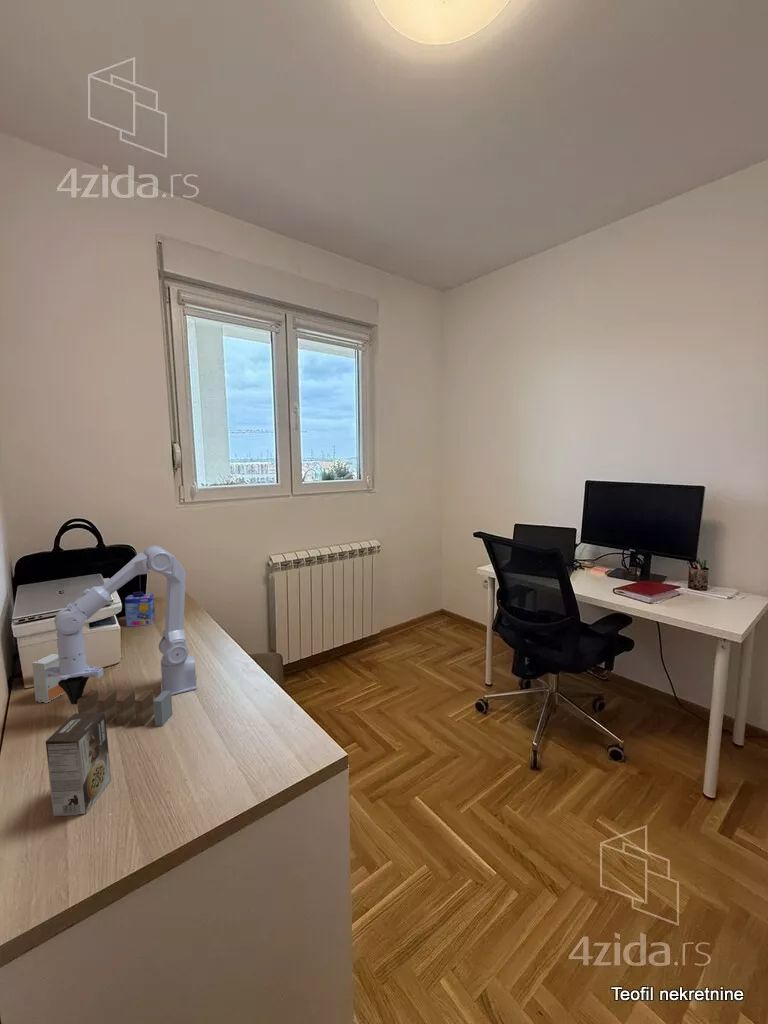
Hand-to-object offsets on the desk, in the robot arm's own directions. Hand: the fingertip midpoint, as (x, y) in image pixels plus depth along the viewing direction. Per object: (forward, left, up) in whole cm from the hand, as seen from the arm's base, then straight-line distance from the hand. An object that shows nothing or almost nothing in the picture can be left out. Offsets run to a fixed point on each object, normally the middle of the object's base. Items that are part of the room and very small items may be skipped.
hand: (76, 702), depth 111 cm
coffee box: (-5, +33, -5) cm, 33 cm away
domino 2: (-7, +4, -5) cm, 10 cm away
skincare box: (+8, -16, -5) cm, 19 cm away
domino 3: (-11, +7, -5) cm, 14 cm away
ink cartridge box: (-14, -67, -5) cm, 69 cm away
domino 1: (-3, +2, -5) cm, 6 cm away
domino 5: (-20, +12, -5) cm, 24 cm away
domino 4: (-16, +9, -5) cm, 19 cm away
